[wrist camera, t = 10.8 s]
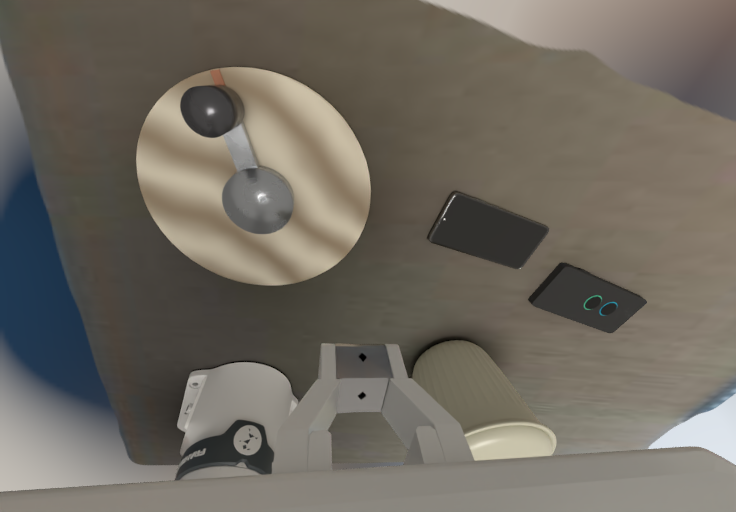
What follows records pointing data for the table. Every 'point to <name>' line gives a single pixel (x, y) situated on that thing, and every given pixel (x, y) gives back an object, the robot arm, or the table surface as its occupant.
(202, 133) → the crank handle
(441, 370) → the canister
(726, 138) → the table surface
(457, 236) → the smartphone
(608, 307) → the smart home device
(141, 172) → the base
